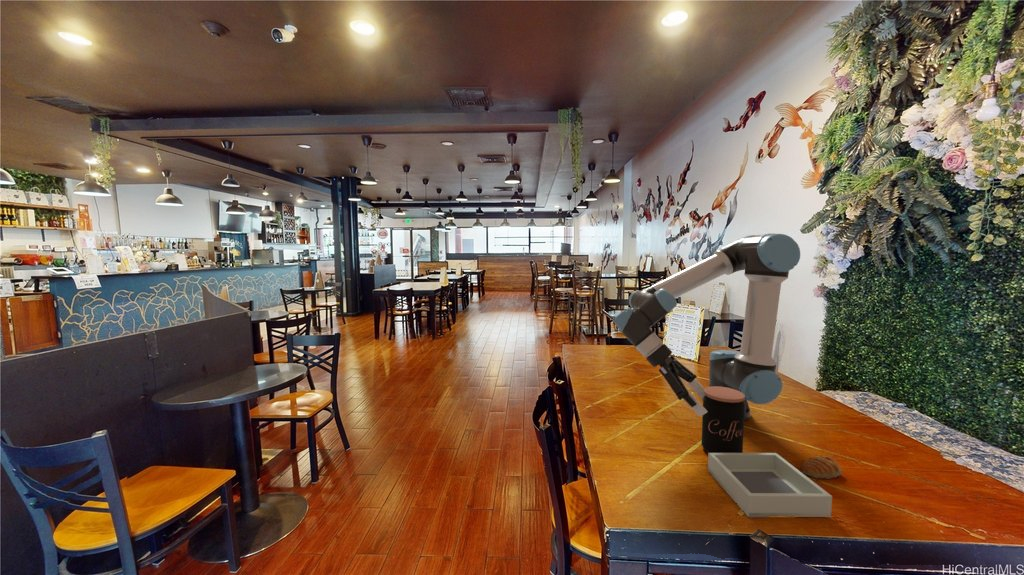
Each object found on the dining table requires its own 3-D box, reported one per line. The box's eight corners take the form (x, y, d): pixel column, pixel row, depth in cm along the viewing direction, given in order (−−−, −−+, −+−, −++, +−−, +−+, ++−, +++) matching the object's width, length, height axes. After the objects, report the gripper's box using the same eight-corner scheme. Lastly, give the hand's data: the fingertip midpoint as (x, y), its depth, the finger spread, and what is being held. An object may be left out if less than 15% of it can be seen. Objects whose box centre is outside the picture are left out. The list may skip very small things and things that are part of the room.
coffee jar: (703, 456, 107) (705, 396, 106) (699, 439, 117) (701, 384, 115) (746, 464, 103) (748, 401, 102) (738, 445, 113) (741, 388, 111)
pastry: (821, 484, 94) (822, 470, 94) (793, 470, 100) (793, 457, 100) (844, 476, 97) (844, 462, 97) (815, 463, 104) (815, 450, 103)
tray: (775, 470, 100) (776, 452, 99) (830, 517, 82) (832, 496, 82) (707, 470, 100) (708, 452, 100) (748, 517, 82) (749, 496, 82)
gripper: (653, 348, 129) (699, 398, 123) (635, 367, 108) (690, 429, 102) (670, 335, 126) (718, 386, 120) (655, 352, 105) (713, 414, 98)
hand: (705, 406), depth 111 cm, fingers open, 13 cm apart
